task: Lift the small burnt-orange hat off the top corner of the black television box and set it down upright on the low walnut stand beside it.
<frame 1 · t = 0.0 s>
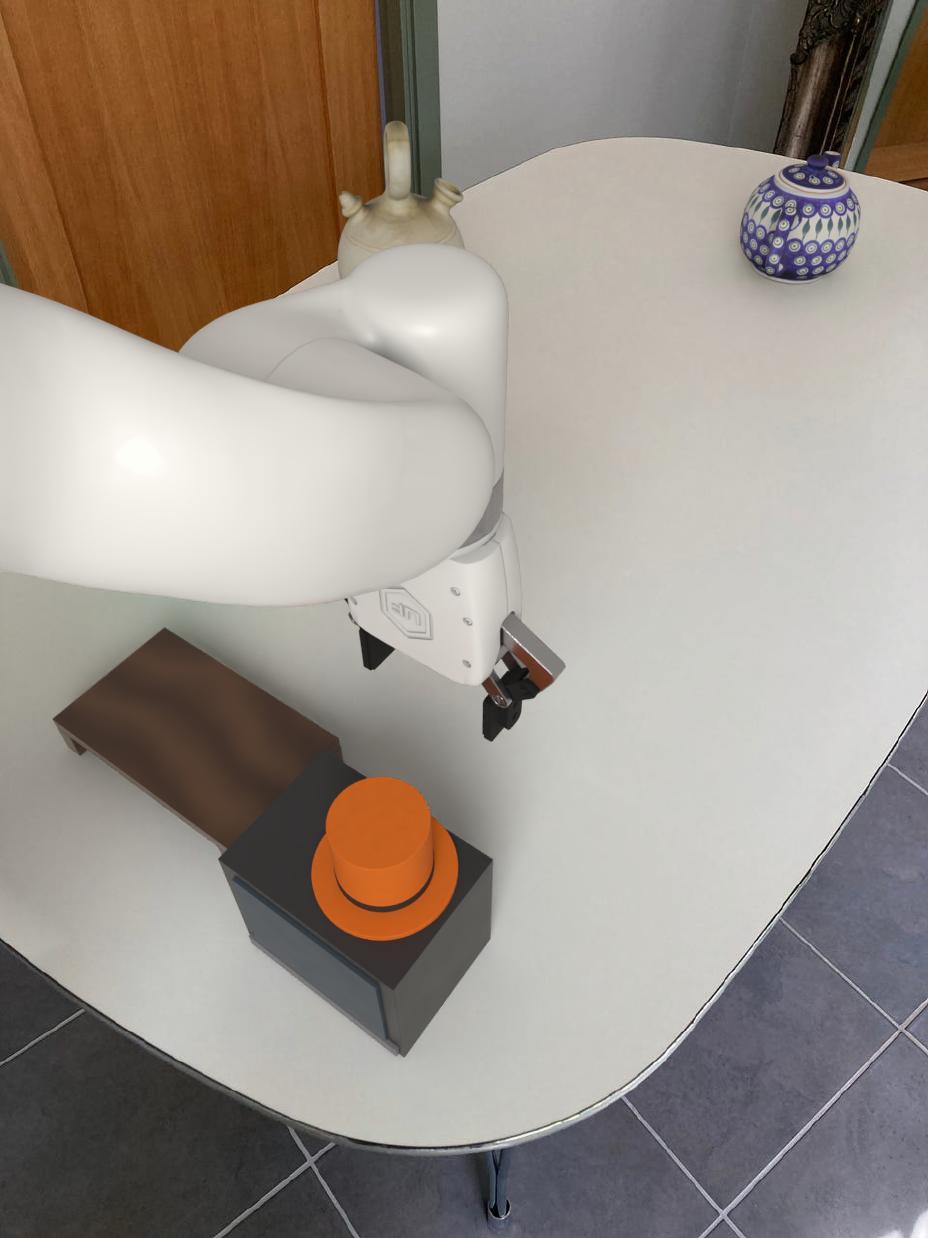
hand: (439, 689, 63), 16 cm above the table, tool pointing down, fingers open, 9 cm apart
candle: (195, 557, 95), on the table
hat: (385, 870, 59), point 12 cm above the table, touching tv
jug: (406, 331, 121), on the table
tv: (370, 938, 68), on the table
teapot: (788, 267, 131), on the table
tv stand: (204, 756, 79), on the table
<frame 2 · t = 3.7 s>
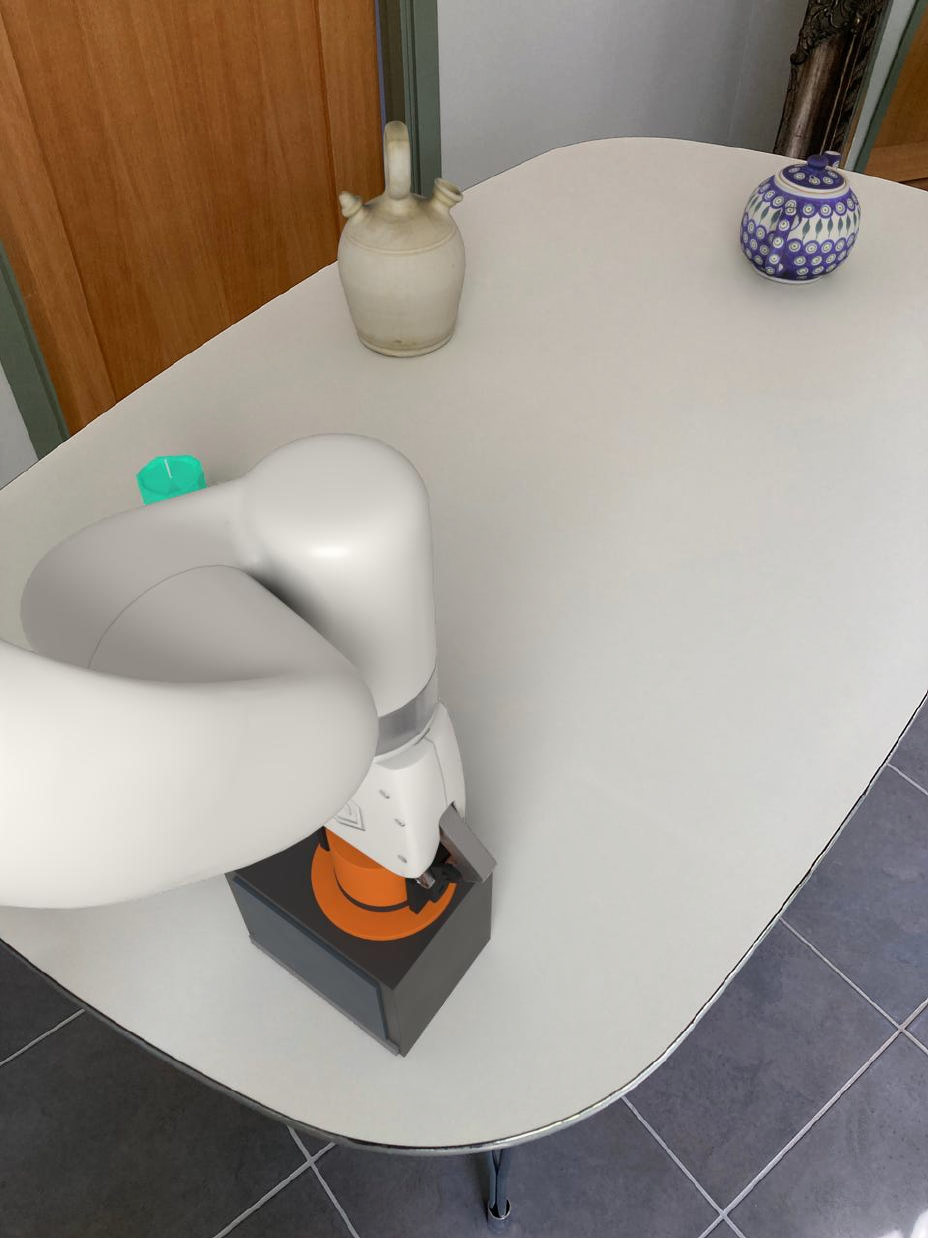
hand: (384, 861, 58), 13 cm above the table, tool pointing down, fingers closed on hat, 6 cm apart
hat: (385, 870, 59), point 12 cm above the table, touching gripper, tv
everything else where it was.
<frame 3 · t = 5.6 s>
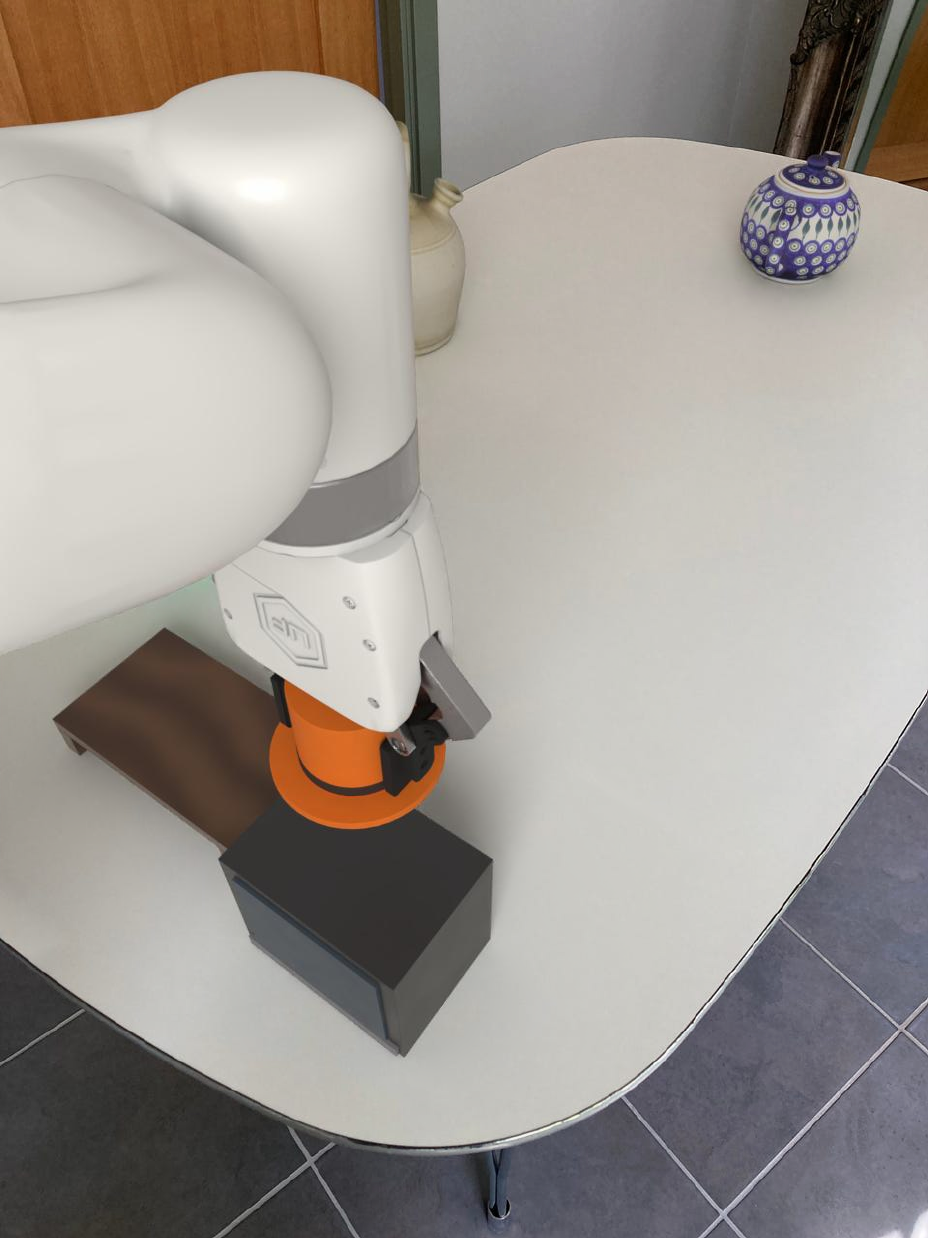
hand: (356, 738, 48), 26 cm above the table, tool pointing down, fingers closed on hat, 6 cm apart
hat: (358, 752, 49), point 25 cm above the table, touching gripper
everything else where it was.
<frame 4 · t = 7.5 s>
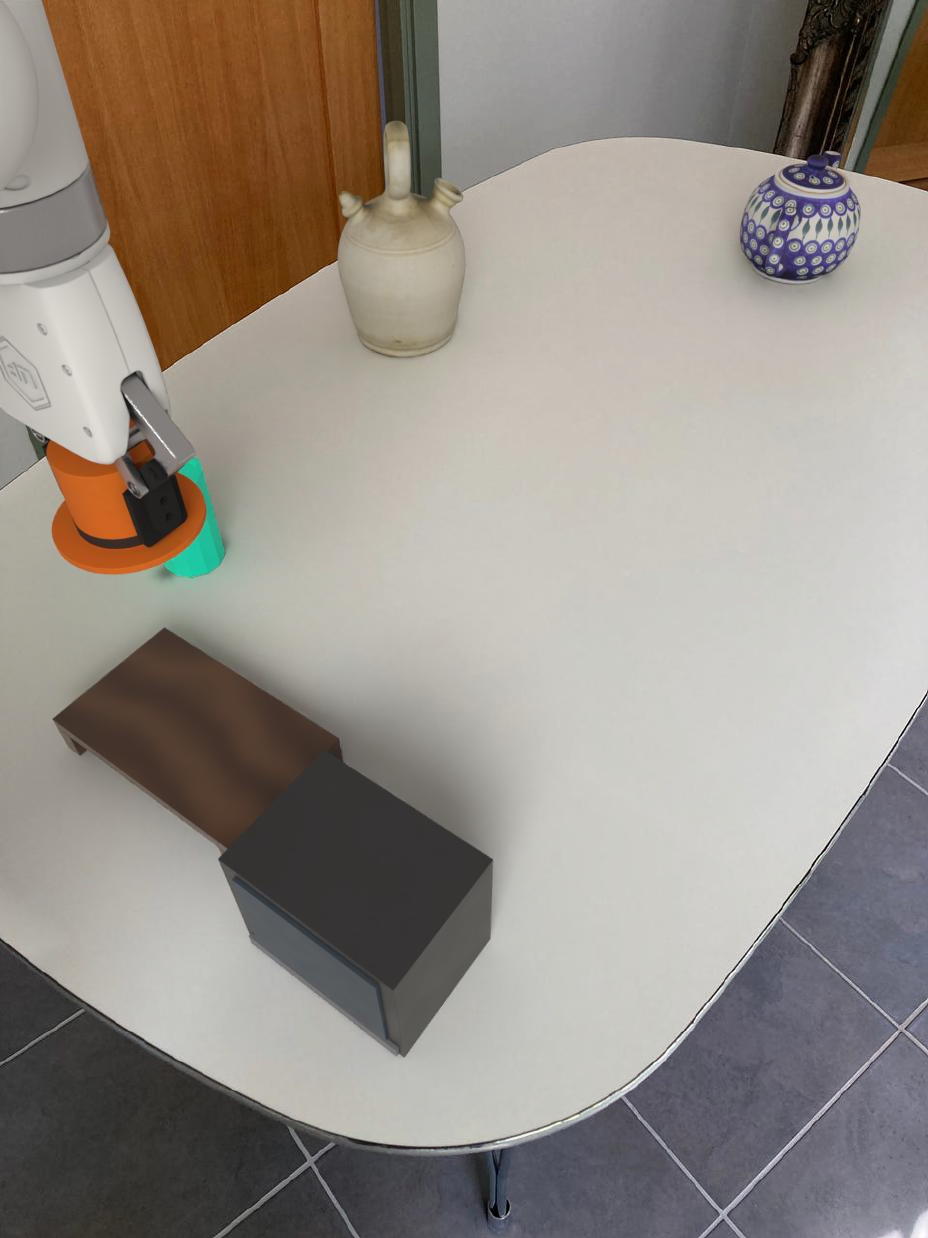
hand: (125, 506, 57), 28 cm above the table, tool pointing down, fingers closed on hat, 6 cm apart
hat: (131, 521, 58), point 27 cm above the table, touching gripper
everything else where it was.
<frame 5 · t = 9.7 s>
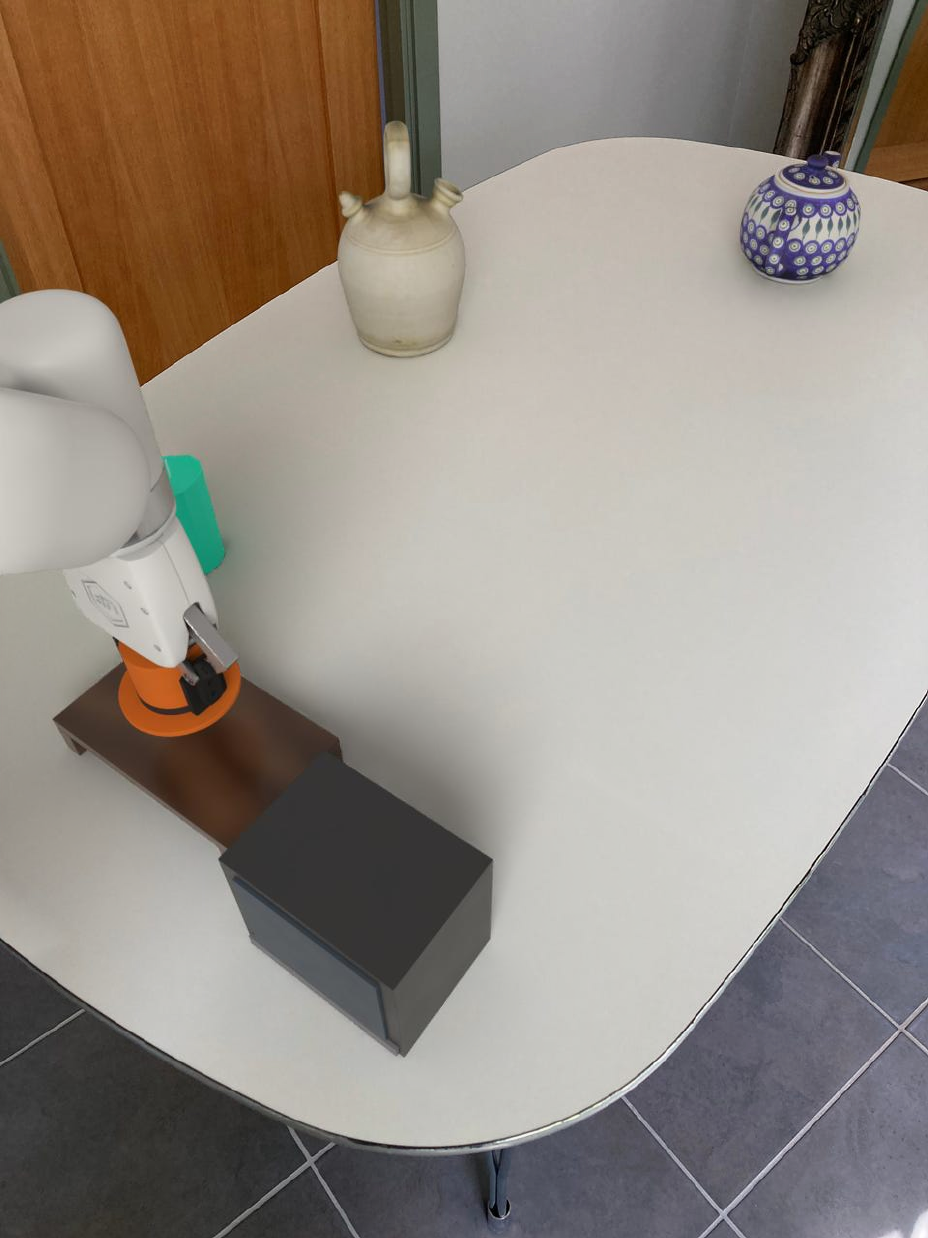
hand: (176, 678, 71), 10 cm above the table, tool pointing down, fingers closed on hat, 6 cm apart
hat: (181, 687, 72), point 9 cm above the table, touching gripper
everything else where it was.
when the fingers open (5 cm above the table, at t = 11.4 s): hat stays where it is, resting on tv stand.
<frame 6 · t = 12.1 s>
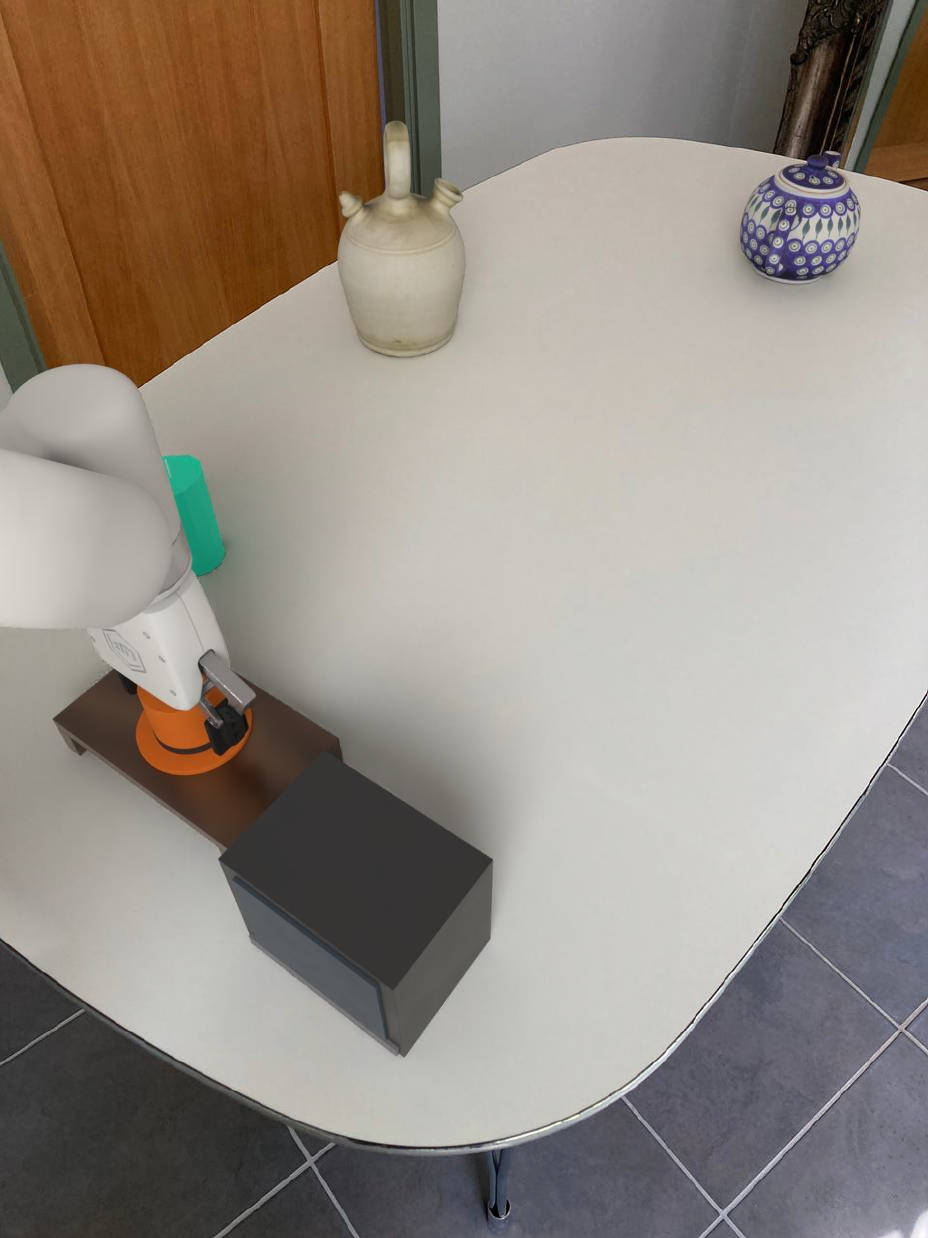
hand: (187, 711, 74), 6 cm above the table, tool pointing down, fingers open, 9 cm apart
hat: (195, 727, 76), point 4 cm above the table, touching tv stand
everything else where it was.
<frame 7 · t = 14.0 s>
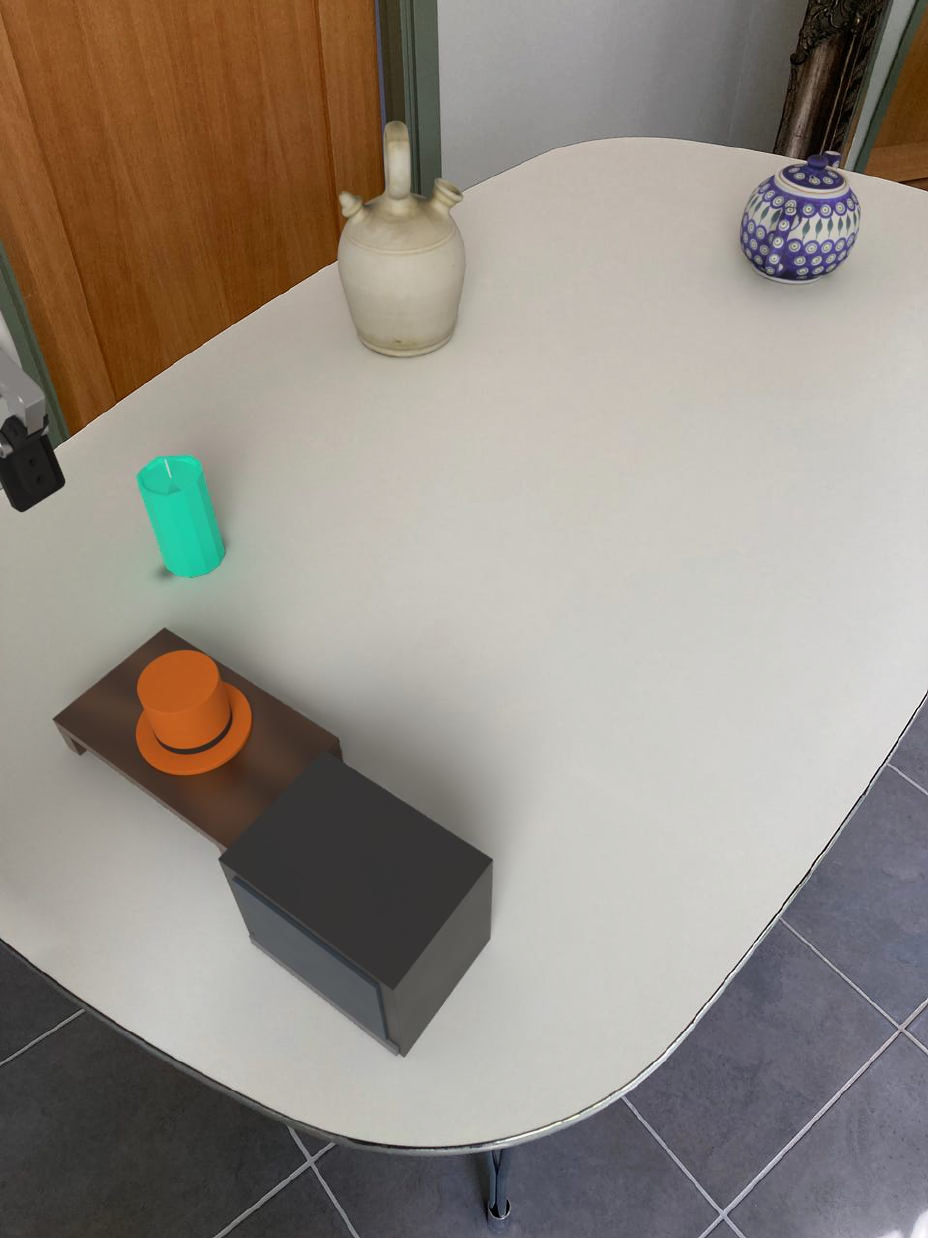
nothing on the table moved.
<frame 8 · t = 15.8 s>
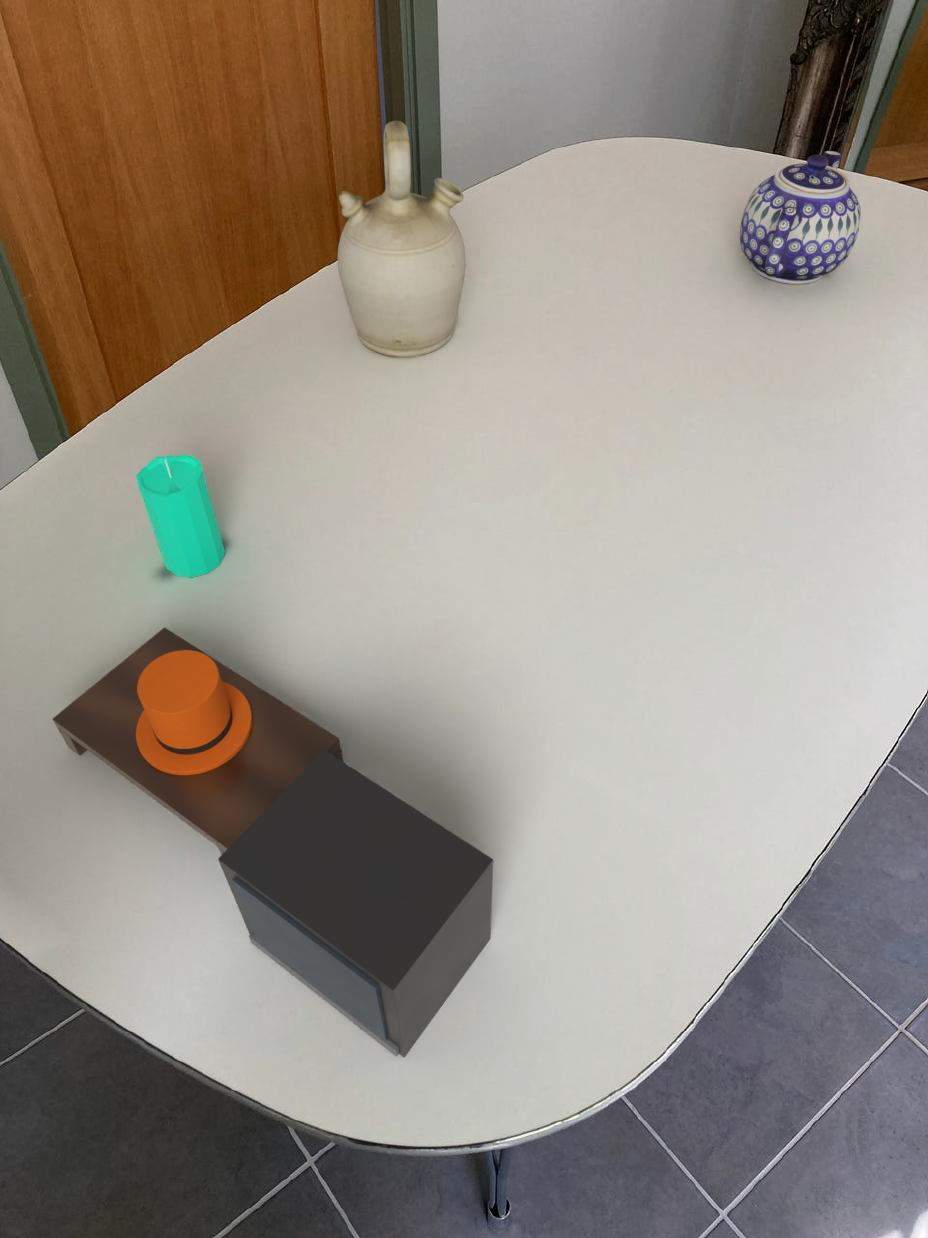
nothing on the table moved.
at the end: hat inside the target area on the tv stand (0.1 cm from its centre), point 4.0 cm above the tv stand's base; hat tilted 0°; the gripper is holding nothing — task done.
